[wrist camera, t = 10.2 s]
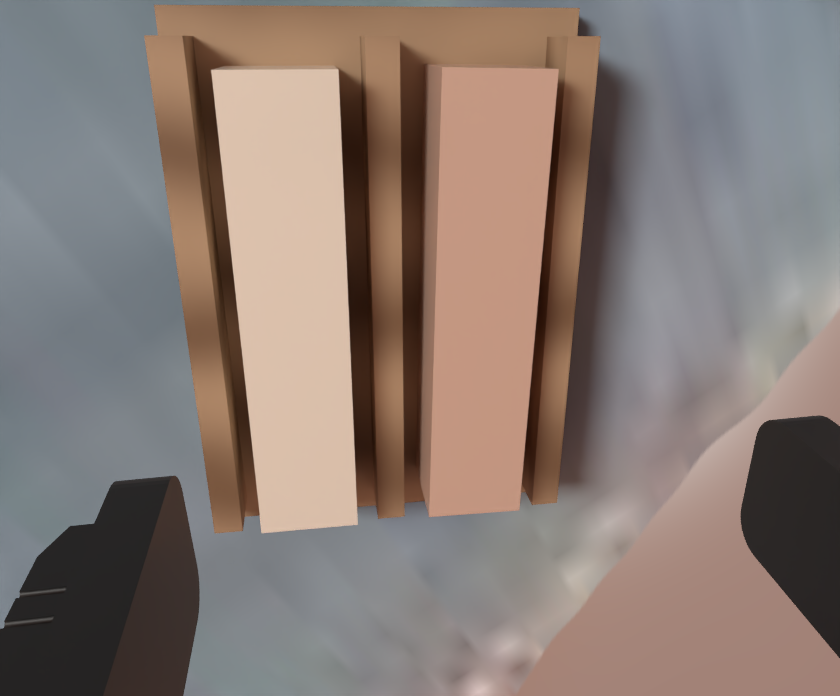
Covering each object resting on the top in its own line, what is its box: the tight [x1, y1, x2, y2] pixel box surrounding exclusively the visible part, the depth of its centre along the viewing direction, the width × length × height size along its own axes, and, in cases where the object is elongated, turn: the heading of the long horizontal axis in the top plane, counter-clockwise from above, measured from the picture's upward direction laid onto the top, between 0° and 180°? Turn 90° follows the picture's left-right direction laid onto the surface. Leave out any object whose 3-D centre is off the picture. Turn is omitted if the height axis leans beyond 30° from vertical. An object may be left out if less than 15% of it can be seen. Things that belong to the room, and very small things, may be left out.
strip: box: [211, 65, 358, 533], centre depth 28 cm, size 18×4×4 cm, turn 0°
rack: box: [144, 5, 601, 533], centre depth 30 cm, size 22×16×4 cm
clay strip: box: [416, 64, 559, 517], centre depth 29 cm, size 18×4×4 cm, turn 179°
